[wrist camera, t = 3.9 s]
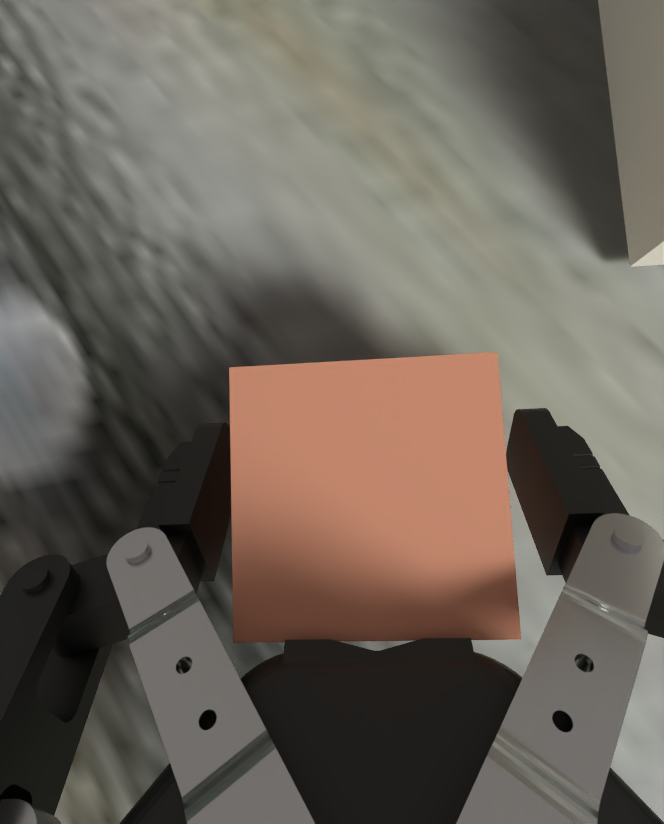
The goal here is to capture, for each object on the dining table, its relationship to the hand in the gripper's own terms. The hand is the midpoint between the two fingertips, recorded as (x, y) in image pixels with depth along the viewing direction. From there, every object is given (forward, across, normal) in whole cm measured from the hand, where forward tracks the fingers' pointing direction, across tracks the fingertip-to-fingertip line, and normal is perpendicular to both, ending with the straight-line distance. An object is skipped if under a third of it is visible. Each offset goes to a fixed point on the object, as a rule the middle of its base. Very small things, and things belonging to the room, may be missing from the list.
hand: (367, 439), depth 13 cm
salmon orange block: (+3, 0, +4) cm, 5 cm away
